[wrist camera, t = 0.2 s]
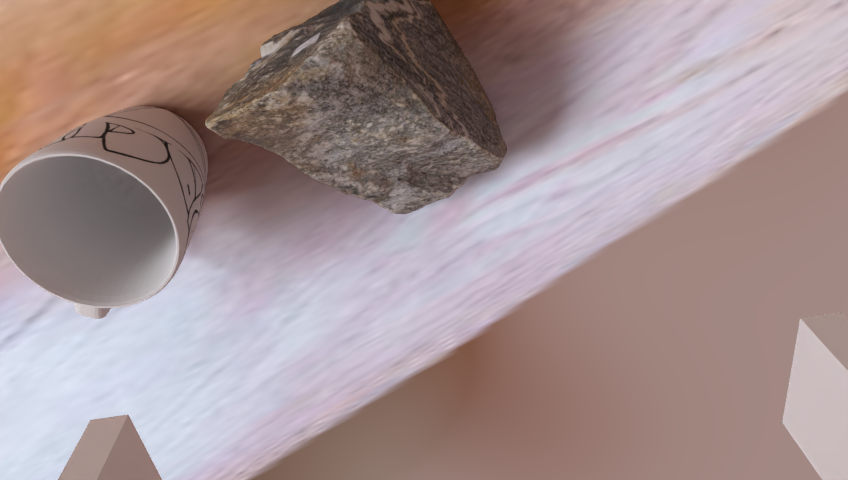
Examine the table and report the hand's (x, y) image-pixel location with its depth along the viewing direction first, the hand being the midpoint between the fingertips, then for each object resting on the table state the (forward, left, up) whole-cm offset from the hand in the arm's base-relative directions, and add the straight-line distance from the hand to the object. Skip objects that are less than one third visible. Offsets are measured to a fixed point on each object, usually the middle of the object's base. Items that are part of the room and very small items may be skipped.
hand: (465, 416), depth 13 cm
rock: (+2, -2, -28) cm, 28 cm away
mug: (+4, -17, -28) cm, 33 cm away
